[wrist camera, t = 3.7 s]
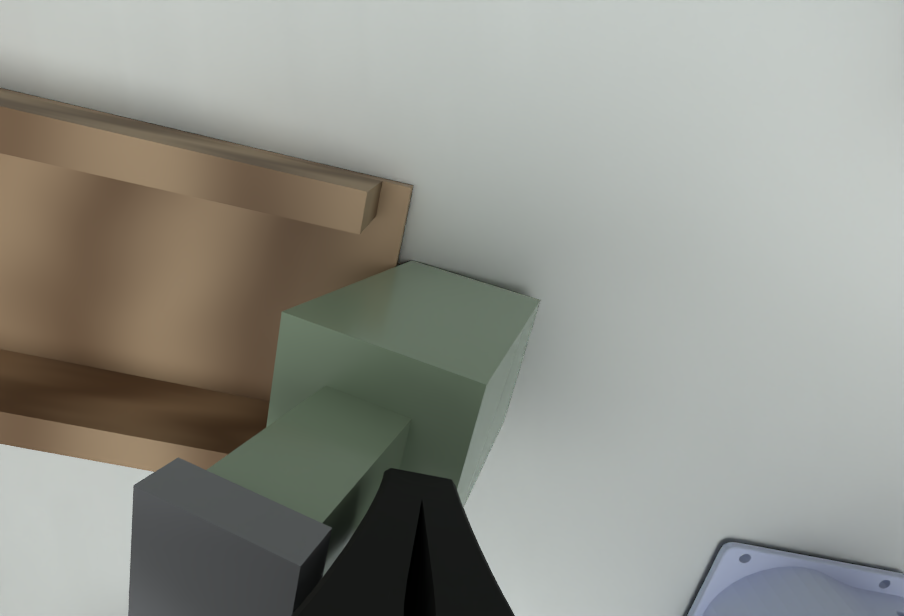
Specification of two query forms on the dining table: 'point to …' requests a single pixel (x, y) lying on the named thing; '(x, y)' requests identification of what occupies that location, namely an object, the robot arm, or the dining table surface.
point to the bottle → (332, 441)
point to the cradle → (161, 278)
